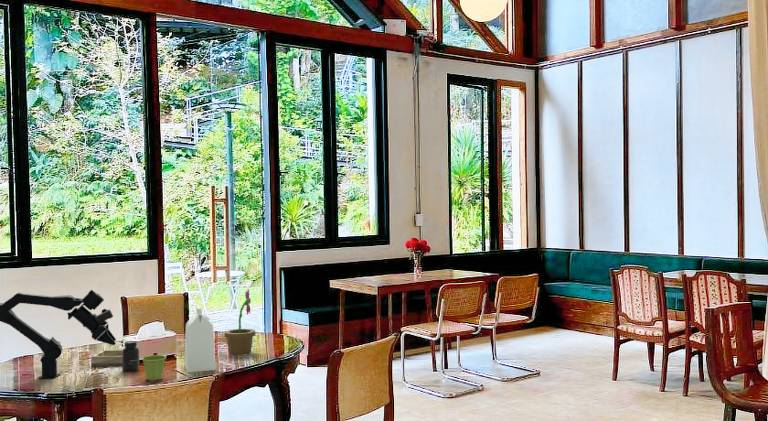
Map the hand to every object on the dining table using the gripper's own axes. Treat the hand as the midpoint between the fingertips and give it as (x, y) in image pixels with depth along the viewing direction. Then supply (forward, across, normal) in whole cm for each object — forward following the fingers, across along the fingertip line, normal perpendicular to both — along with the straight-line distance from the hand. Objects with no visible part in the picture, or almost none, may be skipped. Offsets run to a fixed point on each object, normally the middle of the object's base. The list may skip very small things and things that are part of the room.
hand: (115, 342), depth 306 cm
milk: (+33, -8, -15) cm, 37 cm away
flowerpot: (+48, +17, -30) cm, 59 cm away
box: (+8, +19, +10) cm, 23 cm away
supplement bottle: (+13, 0, +4) cm, 14 cm away
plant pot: (+20, -21, -2) cm, 28 cm away
